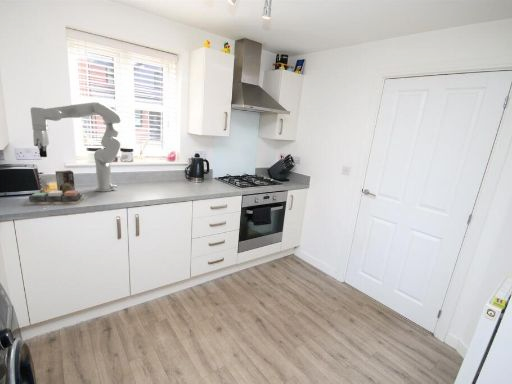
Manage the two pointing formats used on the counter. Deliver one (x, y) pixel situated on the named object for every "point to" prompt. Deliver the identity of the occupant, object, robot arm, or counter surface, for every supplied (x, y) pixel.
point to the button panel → (55, 199)
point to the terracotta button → (71, 193)
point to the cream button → (55, 193)
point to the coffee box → (65, 181)
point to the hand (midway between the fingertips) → (43, 156)
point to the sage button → (39, 194)
